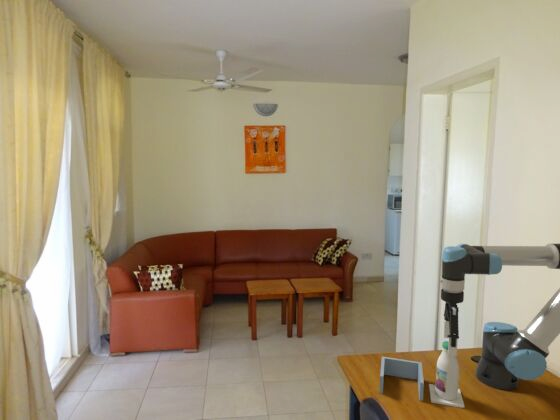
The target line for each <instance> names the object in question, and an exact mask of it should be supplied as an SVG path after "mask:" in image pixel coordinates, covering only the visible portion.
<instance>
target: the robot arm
mask: <svg viewBox="0 0 560 420" xmlns="http://www.w3.org/2000/svg"><path fill="white" fill-rule="evenodd" d="M503 266H510V267H511V266H515V267H516V266H518V267H519V266H523V267H524V266H525V267H533V266H535V267H547V268H548V269H553V270H554V269H555V270H560V243H547V244H545V246H543V245H542V246H541V245H535V246H533V245H532V246H531V245H470V244H466V243H459V244H457V245H456V246H453V245H452V246H451V245H450V246H446V247H444V248H443V250H442V257H441V279H440V280H439V282H440V283H441V289H440V299H441V300H442V301H444V302H445V304H444V306H445V307H444V310H443V311H444V313H443V317H444V322H443V323H444V324H443V325H444V326H443V338H444V339H448V341H449V345H448V355H456V357H457V356H458V340H459V339H460V335H459V334H460V333H459V332H460V331H459V312H460V311H459V306H458V304H462V303H464V298H465V297H464V296H465V295H464V294H465V293H464V291H465V282H466V281H465V280H466V278H465V277H466V276H465V275H487V276H490V275H498V274H500V273H501V271H502V268H503ZM559 335H560V287H559V288H558V289H557V290H556V291H555V293H554V294H553V296H551V298H550V299H549V300H548V301H547V302H546V303H545V304H544V305H543V307H542V308H541V309H540V311H539V312H538V313H537V314H536V315H535V316H534V317H533V318H532V320H531V321H529V323H528V325H527V326H526V327H525V328H524V329H519V330H518V328H517V326H515V325H513V324H511V323H506V322H501V321H489V322H486V323H484V325H483V329H482V343H481V344H482V347H481V357H480V360H479V361H478V363H477V365H476V367H475V377H476V378H477V380H479V381H480V382H481V383H482V384H485V385H487V386H489V387H491V388H495V389H499V390H504V391H505V390H506V391H507V390H508V391H509V390H510V391H511V390H514V389H517V388H518V387H519V383H520V380H523V381H528V380H529V381H532V380H537V379H539V378H540V377H542V376H543V375H544V373H546V370H547V360H546V359H547V358H548V356H549V355H550V351H549V347H550V346H551V345H552V343H554V341H555V340H556V338H557V337H558V336H559ZM519 379H520V380H519Z"/></svg>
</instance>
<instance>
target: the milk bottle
mask: <svg viewBox="0 0 560 420" xmlns="http://www.w3.org/2000/svg"><path fill="white" fill-rule="evenodd" d="M441 344H442V346H441V348H442V350H441V351H442V352H441V353H440V355H439V356H438V358H437V360H436V361H437V362H436V370H435V381H434V382H435V383H434V385H435V392H436V394H437V395H438V396H439V397H440V398H443V399H446V400H455V399H456V398H457V396H458V389H459V382H460V379H459V378H460V364H459V360H458V358H457V356H456V355H448V345H449V340H447V341H446V340H445V341H443V342H442V343H441Z"/></svg>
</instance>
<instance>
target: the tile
mask: <svg viewBox="0 0 560 420" xmlns="http://www.w3.org/2000/svg"><path fill="white" fill-rule="evenodd" d="M428 389H429V396H430V397H429V399H430V402H431V404H439V405H442V406H443V405H444V406H450V407H455V408H460V409H465V403H464V400H463V396H462V392H461V389H460V388H458V396H457V398H456V399H455V400H446V399H443V398H440V397H439V396H438V395H437V394H436V392H435V384H431V383H428Z"/></svg>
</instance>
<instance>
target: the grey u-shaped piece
mask: <svg viewBox="0 0 560 420" xmlns="http://www.w3.org/2000/svg"><path fill="white" fill-rule="evenodd" d="M380 361H381V363H380V374H379V393H378V394H381V395H383V394H384V383H385V381H384V380H385V376H392V377H399V378H404V379H409V380H410V379H411V380H416V381H417V388H418V389H417V390H418V399H419V401H420V402H423V401H424V391H425V390H424V388H425V383H424V380H425V379H424V375H423V374H424V371H423V364H422V361H420V362H419V361H414V360H407V359H401V358H394V357H388V356H381V360H380Z"/></svg>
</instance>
